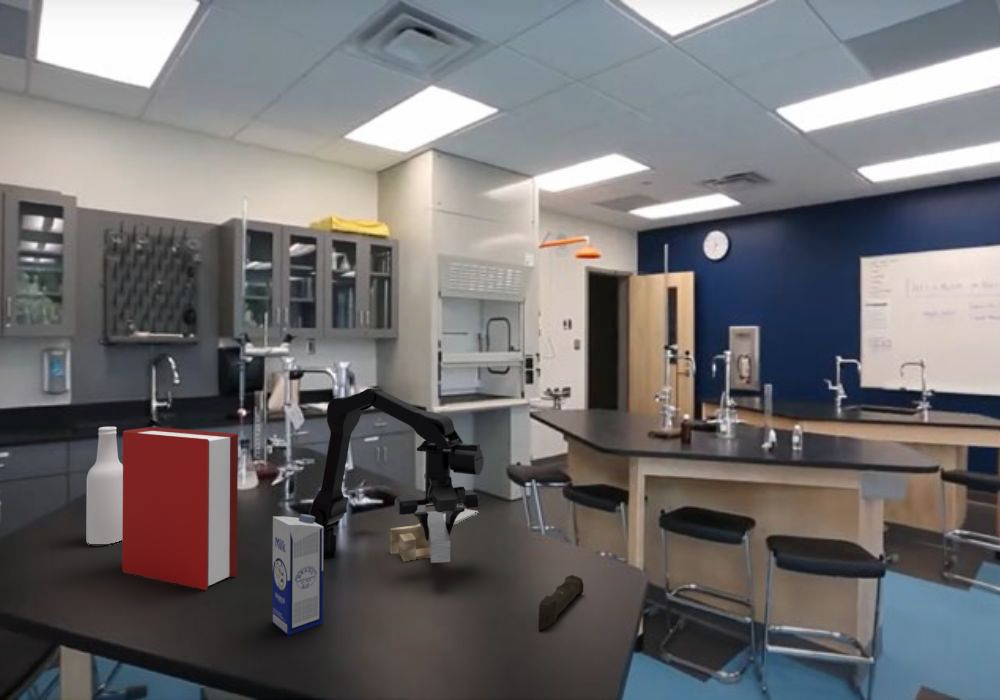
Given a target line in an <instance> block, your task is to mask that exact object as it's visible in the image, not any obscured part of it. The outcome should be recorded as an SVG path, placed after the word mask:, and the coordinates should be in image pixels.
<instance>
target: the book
mask: <svg viewBox="0 0 1000 700" xmlns="http://www.w3.org/2000/svg"><path fill="white" fill-rule="evenodd" d="M238 439H239V433H231V432H218V431H206V430H197V429H196V430H195V429H194V430H193V429H183V428H182V429H181V428H170V427H156V426H154V427H153V426H152V427H142V428H140V427H139V428H135V429H126V430H124V431H122V465H123V530H122V542H121V543H122V544H121V545H122V548H121V551H122V554H121V555H122V557H121V558H122V561H121V563H122V565H121V567H122V570H121V572H122V571H125V572H129V573H133V574H137V575H142V576H147V577H151V578H156V579H160V580H164V581H169V582H174V583H178V584H183V585H188V586H193V587H196V588H200V589H204V590H207V591H208V589H209V588H208V587H209V586H211V585H214V584H216V583H218V582H220V581H222V580H225V579H226V578H229V577H232V578H238V490H239V489H238V486H239V484H238V478H239V477H238V475H239V474H238V472H239V471H238V467H239V465H238V462H239V461H238V460H239V459H238V455H239V454H238V453H239V451H238V450H239V449H238V448H239V446H238V445H239V440H238Z"/></svg>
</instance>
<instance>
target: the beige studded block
mask: <svg viewBox="0 0 1000 700" xmlns="http://www.w3.org/2000/svg"><path fill="white" fill-rule="evenodd" d="M389 530H390V531H389V532H390V533H389V536H390V537H389V538H390V539H389V542H390V545H389V546H390V547H389V548H390V549H389V550H390V551H389V552H390V555H395V554H396V555H397V554H398V555H399V556H401V557H400V558H401V559H402V561H403V562H410V560H412V561H416V559H419V560H424V559H423V558H426V559H430V553H429V547H428V541H426V539H425V536H424V534H423V531H422V528H421V525H417V524H416V525H409V526H400V527H398V526H397V527H392V528H389ZM450 536H451V534H450V535H449V537H450Z"/></svg>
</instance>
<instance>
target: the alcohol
mask: <svg viewBox="0 0 1000 700" xmlns="http://www.w3.org/2000/svg"><path fill="white" fill-rule="evenodd" d="M117 428H118V427H116V426H102V427H99V428H98V429H97V430H98V432H97V435H98V442H97V443H98V444H97V453H96V461H95V462H94V465H92V467H91V468H89V470H88V473H87V476H86V506H85V507H86V511H85V512H86V515H85V516H86V518H85V519H86V520H85V522H86V524H85V525H86V528H85V529H86V531H85V532H86V535H85V536H86V538H85V539H86V543H87V544H88V543H89V544H110V543H115V542H119V541H121V540H122V530H123V463H122V462H121V461H120V460H119V452H118V443H117V441H118V439H117ZM89 544H88V545H89Z"/></svg>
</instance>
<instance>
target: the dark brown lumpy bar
mask: <svg viewBox="0 0 1000 700" xmlns="http://www.w3.org/2000/svg"><path fill="white" fill-rule="evenodd" d="M583 593H584V581H583V579H582V578H581V577H580V576H579V577H578V576H577V575H574V574H573V575H572V574H571V575H568V576H566V577H565V579H564V582H563V583H561V585H558V586H556V590H555V591H554V592H553V593H552V594H551V595H546V596H545V597H544V598H543V599H541V601H539V606H538V630H539V631H541V630H545V629H546V628H548V627H550V626H551V625H552V624H554V623H556V621H557V617H558V615H559V614H560V613H561V612H563V610H565V609H566V608H567V606H568V605H569V604H570V603H571V602H572V601H573V600H574V599H575V598H576V597H577V596H581V595H582V594H583Z"/></svg>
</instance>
